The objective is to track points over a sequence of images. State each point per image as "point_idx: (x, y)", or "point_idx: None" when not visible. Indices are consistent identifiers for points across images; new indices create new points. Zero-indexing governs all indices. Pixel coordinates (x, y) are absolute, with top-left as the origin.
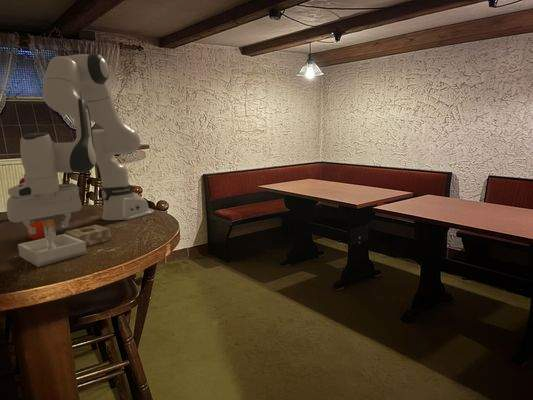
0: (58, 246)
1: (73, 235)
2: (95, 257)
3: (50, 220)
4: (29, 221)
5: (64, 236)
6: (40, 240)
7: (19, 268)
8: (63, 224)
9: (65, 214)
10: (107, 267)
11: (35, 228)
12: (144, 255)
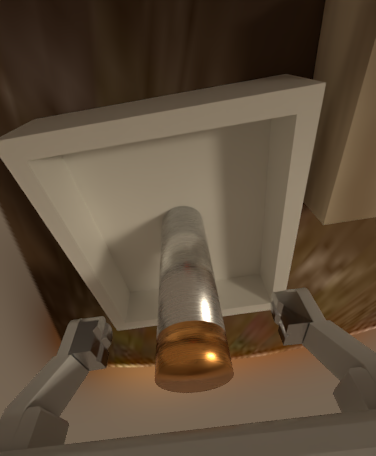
0: (227, 148)
1: (336, 160)
2: None
3: (213, 371)
4: (58, 442)
5: (289, 149)
6: (140, 139)
7: (72, 274)
8: (278, 328)
9: (345, 403)
10: (243, 353)
11: (105, 366)
12: None
